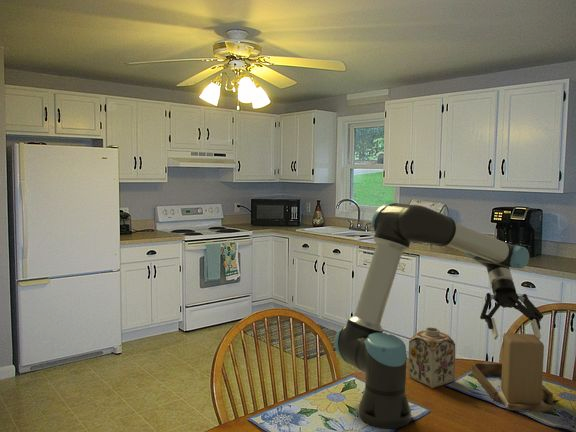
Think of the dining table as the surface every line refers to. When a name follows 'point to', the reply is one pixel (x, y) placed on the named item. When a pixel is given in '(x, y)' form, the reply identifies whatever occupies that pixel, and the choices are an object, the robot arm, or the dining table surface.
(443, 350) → the decorative jar
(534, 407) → the bay
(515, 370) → the wooden block
